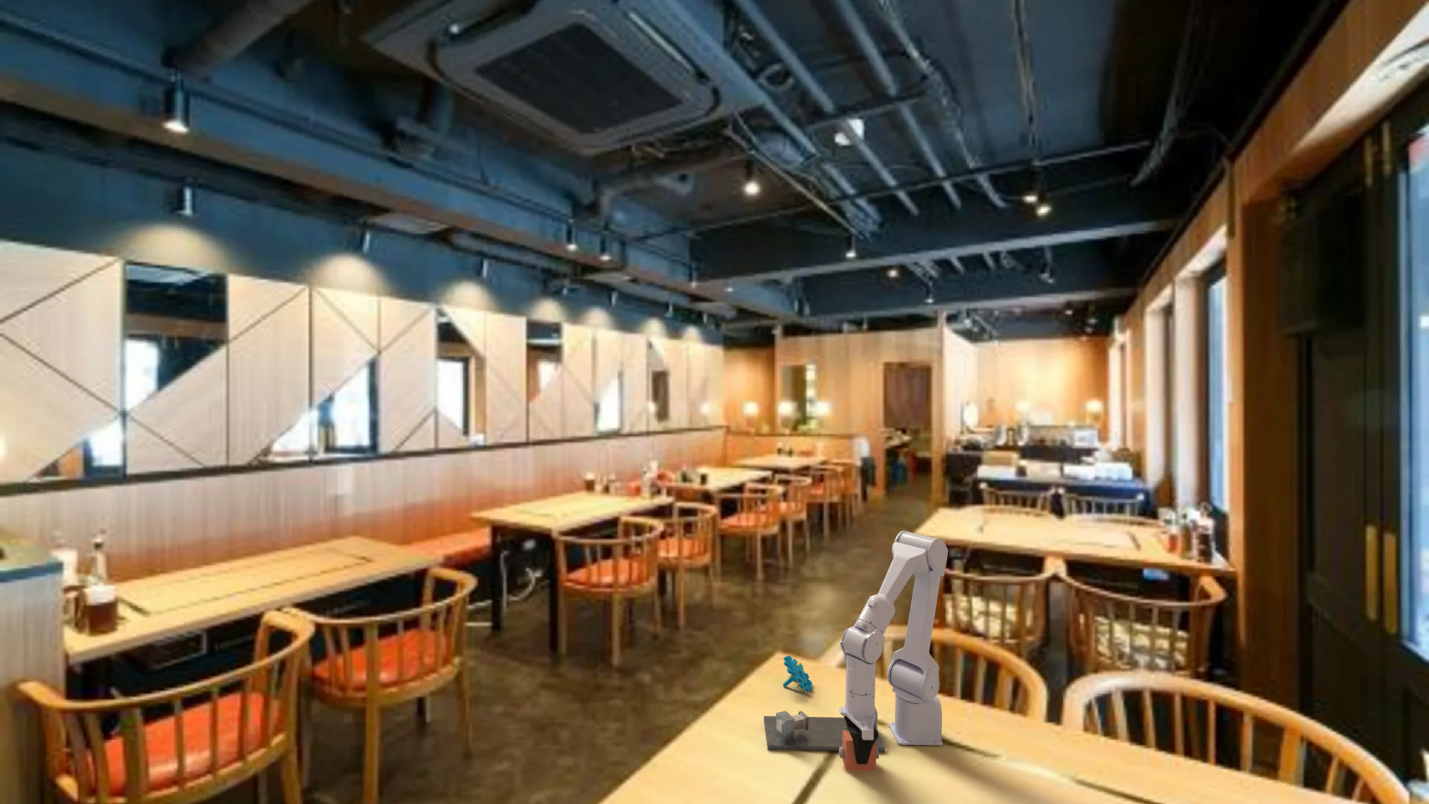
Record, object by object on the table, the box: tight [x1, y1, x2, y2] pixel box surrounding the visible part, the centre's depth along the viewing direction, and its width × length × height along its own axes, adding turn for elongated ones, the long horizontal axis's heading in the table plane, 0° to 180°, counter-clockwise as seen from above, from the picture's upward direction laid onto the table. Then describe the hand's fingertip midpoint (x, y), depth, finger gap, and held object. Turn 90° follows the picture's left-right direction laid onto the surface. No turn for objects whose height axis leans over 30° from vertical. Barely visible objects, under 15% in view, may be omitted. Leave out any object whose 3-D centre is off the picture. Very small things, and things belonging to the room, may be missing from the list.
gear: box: [782, 654, 814, 693], centre depth 158 cm, size 11×6×10 cm
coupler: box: [838, 731, 880, 772], centre depth 126 cm, size 8×4×6 cm, turn 90°
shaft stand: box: [763, 707, 886, 753], centre depth 136 cm, size 24×12×6 cm, turn 90°
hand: (858, 755), depth 126 cm, fingers open, 5 cm apart
